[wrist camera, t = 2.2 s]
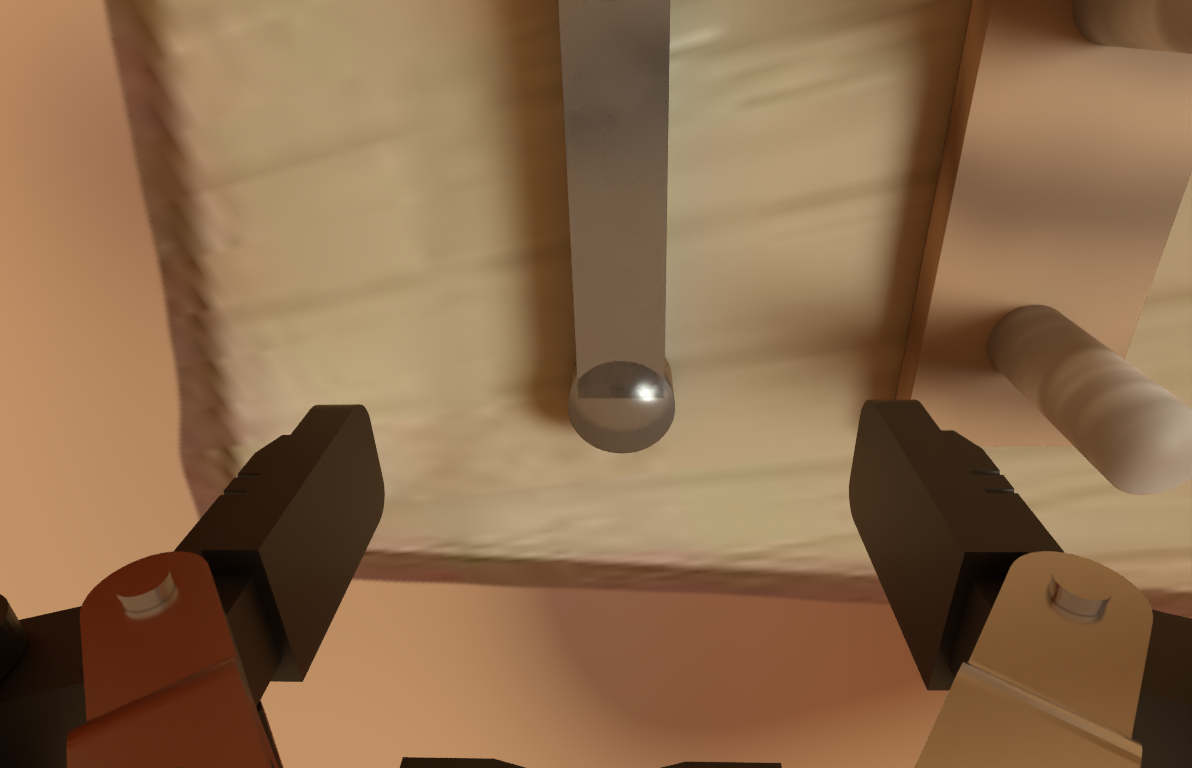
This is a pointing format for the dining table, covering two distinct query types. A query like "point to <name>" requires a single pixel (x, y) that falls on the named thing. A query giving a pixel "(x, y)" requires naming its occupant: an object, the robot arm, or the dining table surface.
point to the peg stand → (1057, 234)
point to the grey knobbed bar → (618, 217)
